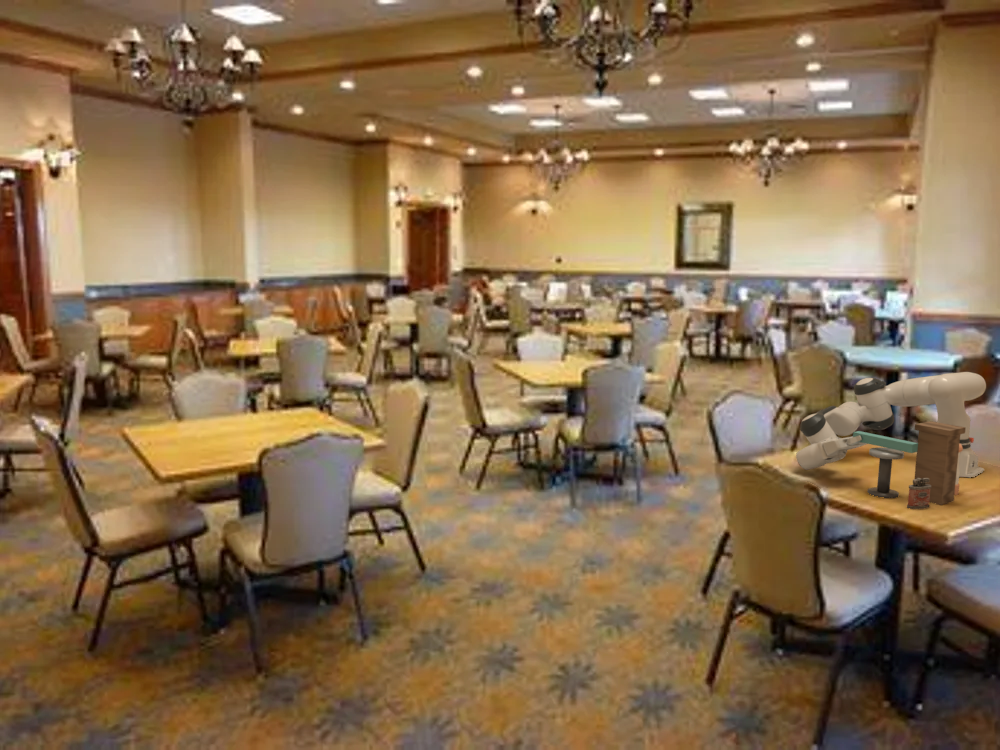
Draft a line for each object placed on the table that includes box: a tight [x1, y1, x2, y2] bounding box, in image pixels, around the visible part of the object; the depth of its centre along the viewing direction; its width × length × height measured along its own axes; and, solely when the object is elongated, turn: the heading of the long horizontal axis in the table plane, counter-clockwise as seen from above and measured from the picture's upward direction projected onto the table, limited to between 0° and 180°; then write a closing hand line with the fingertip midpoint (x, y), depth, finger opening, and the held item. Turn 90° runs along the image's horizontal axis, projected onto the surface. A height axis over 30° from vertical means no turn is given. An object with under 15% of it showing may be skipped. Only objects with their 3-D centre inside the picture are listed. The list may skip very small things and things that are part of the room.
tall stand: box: [914, 420, 966, 506], centre depth 288 cm, size 10×12×26 cm
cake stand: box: [867, 447, 905, 499], centre depth 295 cm, size 11×11×16 cm
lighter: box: [906, 478, 931, 510], centre depth 281 cm, size 8×3×10 cm, turn 105°
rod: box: [852, 430, 918, 454], centre depth 294 cm, size 4×22×3 cm, turn 34°
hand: (865, 436), depth 300 cm, fingers closed on rod, 3 cm apart
